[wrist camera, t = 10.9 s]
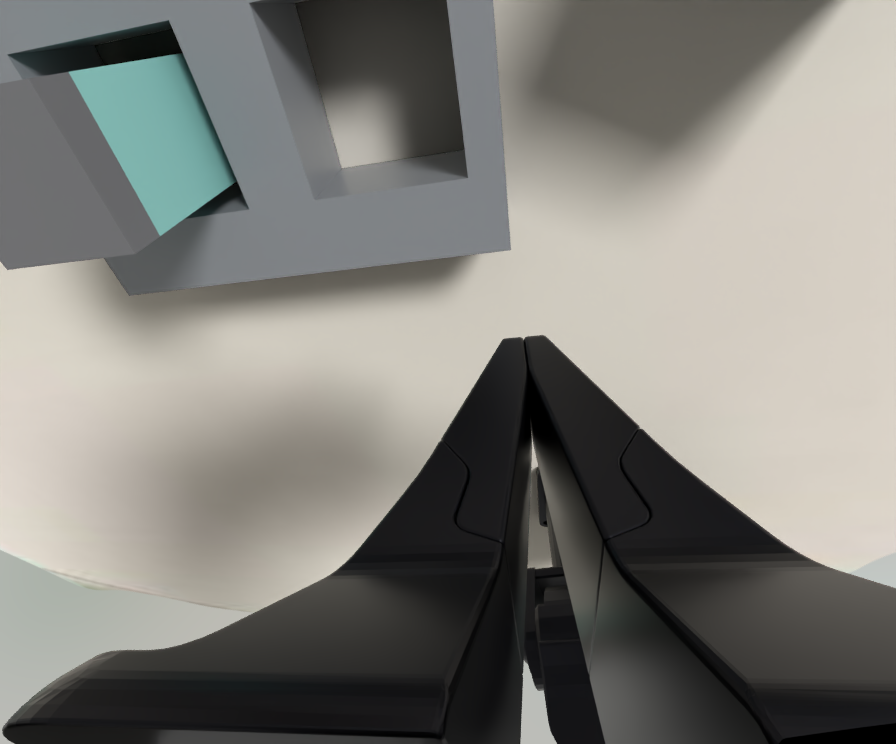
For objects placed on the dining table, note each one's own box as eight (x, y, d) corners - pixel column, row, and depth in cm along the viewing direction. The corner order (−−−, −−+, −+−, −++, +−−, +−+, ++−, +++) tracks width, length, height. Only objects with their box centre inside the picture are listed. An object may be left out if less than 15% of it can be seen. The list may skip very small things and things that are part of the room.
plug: (264, 161, 19) (135, 254, 12) (178, 174, 20) (7, 269, 13) (221, 46, 17) (28, 78, 10) (125, 64, 17) (-126, 106, 10)
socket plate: (506, 211, 20) (510, 250, 17) (178, 254, 22) (129, 295, 19) (479, -164, 13) (477, -216, 10) (10, -47, 15) (-109, -59, 12)
